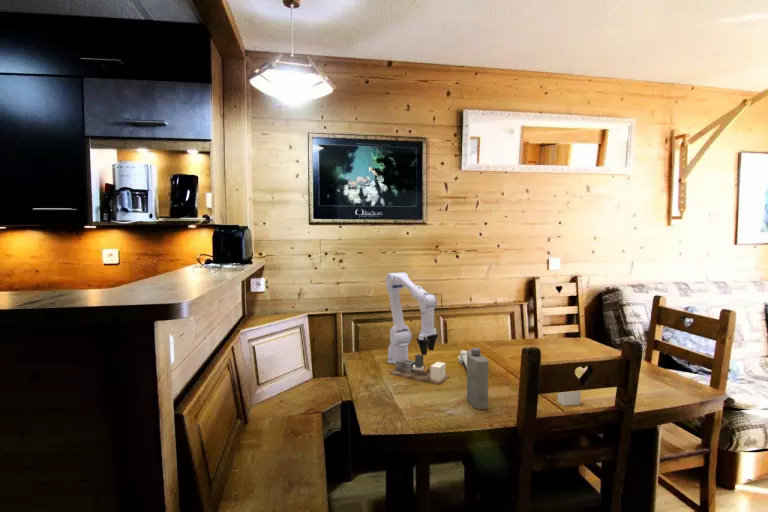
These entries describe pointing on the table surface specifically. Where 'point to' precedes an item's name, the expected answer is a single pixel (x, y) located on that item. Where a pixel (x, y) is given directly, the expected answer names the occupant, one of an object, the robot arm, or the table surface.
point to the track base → (413, 372)
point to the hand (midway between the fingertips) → (427, 352)
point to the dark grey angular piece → (419, 365)
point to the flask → (477, 379)
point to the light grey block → (569, 398)
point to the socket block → (438, 371)
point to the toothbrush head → (463, 357)
